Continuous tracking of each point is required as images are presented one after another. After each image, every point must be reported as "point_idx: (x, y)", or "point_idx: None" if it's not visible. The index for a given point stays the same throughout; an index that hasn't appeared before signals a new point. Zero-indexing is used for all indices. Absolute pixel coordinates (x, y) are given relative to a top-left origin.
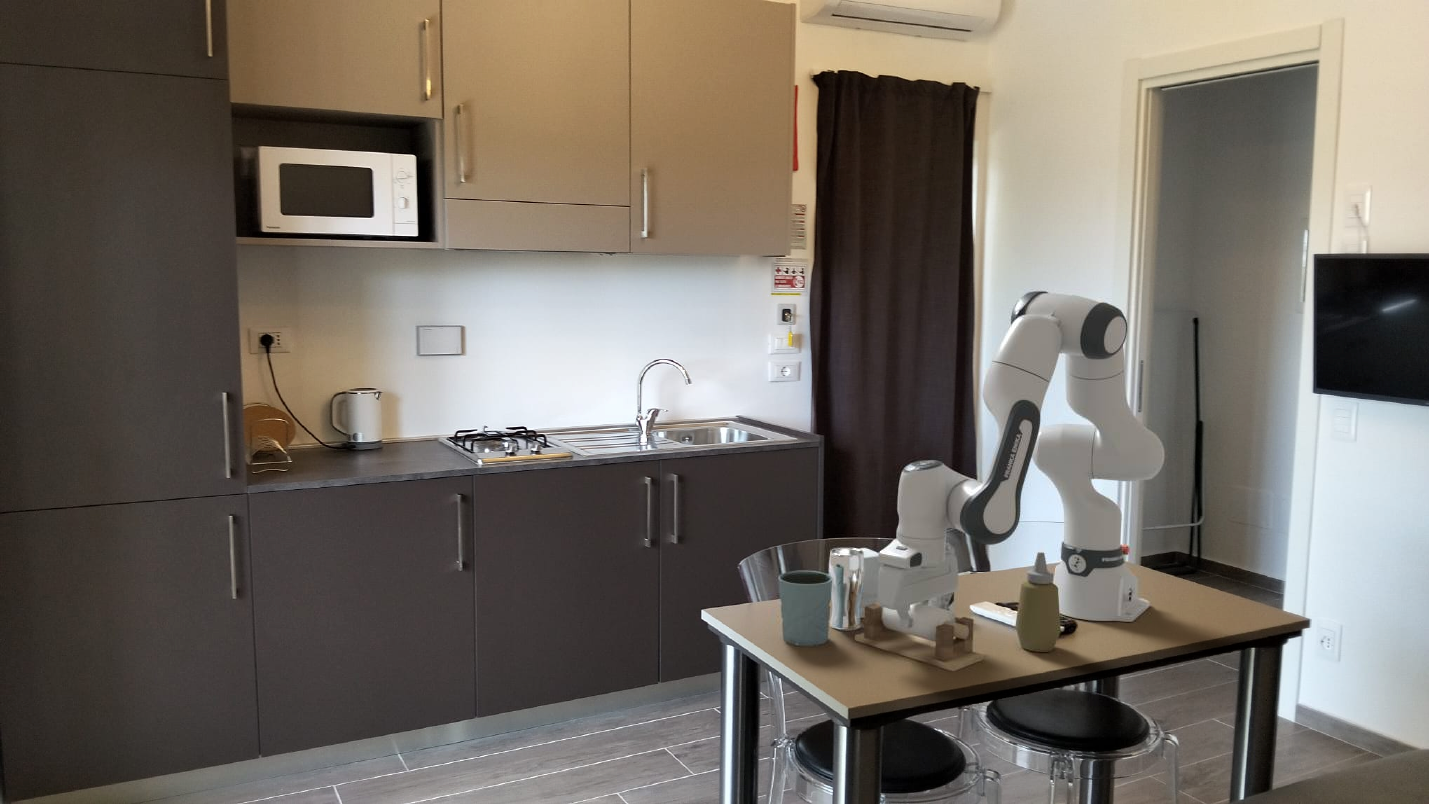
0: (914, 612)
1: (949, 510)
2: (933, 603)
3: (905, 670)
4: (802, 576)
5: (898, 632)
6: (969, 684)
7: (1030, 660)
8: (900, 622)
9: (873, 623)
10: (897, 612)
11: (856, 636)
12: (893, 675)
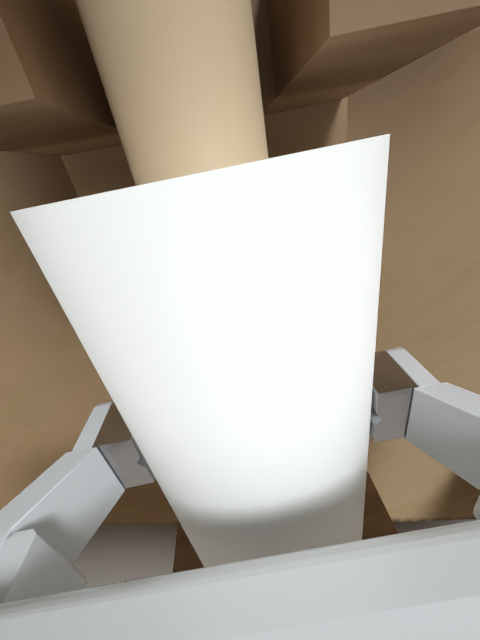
0: (173, 509)
1: None
2: (471, 450)
3: (73, 426)
4: None
5: (303, 121)
6: (176, 520)
7: (420, 480)
8: (88, 423)
9: (4, 150)
10: (10, 502)
11: None
12: (13, 439)
